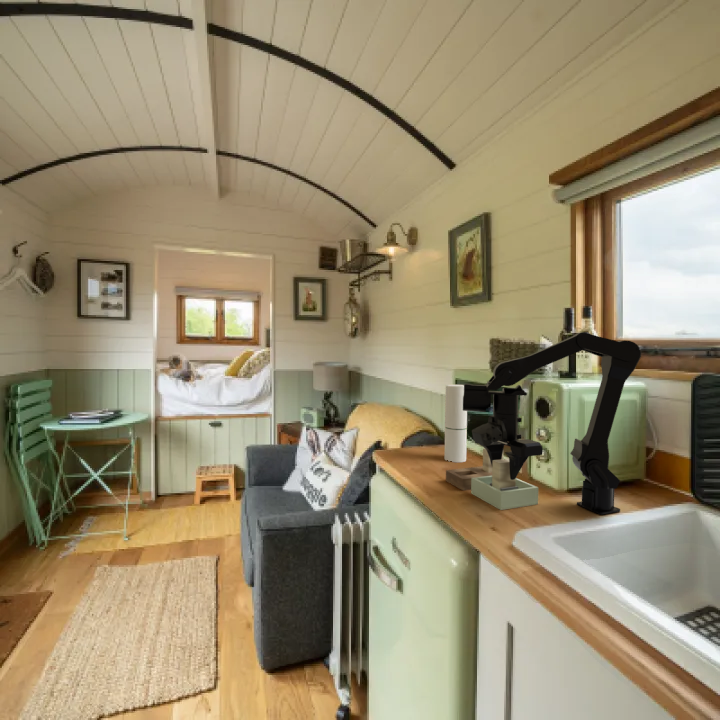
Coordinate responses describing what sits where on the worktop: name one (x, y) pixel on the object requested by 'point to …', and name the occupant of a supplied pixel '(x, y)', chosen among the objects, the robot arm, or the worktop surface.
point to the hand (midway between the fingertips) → (504, 475)
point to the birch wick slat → (501, 474)
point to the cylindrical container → (455, 424)
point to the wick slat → (487, 461)
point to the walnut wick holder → (465, 476)
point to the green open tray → (504, 493)
